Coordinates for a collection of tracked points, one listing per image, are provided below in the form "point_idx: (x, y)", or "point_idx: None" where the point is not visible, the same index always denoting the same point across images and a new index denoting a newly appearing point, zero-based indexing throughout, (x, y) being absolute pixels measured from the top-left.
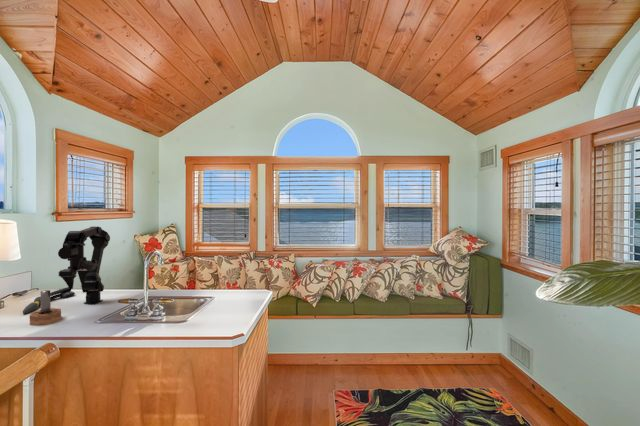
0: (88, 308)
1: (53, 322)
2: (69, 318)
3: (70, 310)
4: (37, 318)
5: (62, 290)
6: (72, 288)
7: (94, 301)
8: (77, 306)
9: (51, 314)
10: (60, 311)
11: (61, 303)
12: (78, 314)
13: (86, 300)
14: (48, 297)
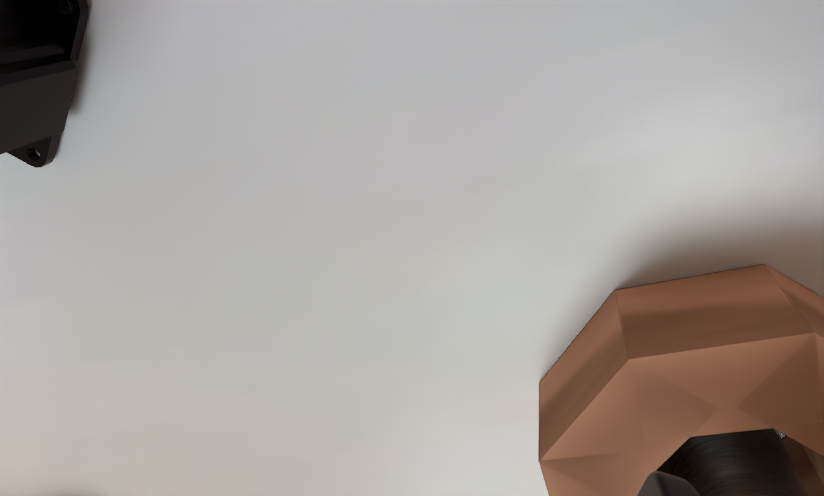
0: (284, 23)
1: None
2: (754, 162)
3: (331, 249)
4: None
5: None
6: (686, 484)
7: (20, 6)
8: (162, 210)
9: None
10: (814, 331)
11: (33, 403)
12: (580, 86)
13: (36, 130)
14: None
